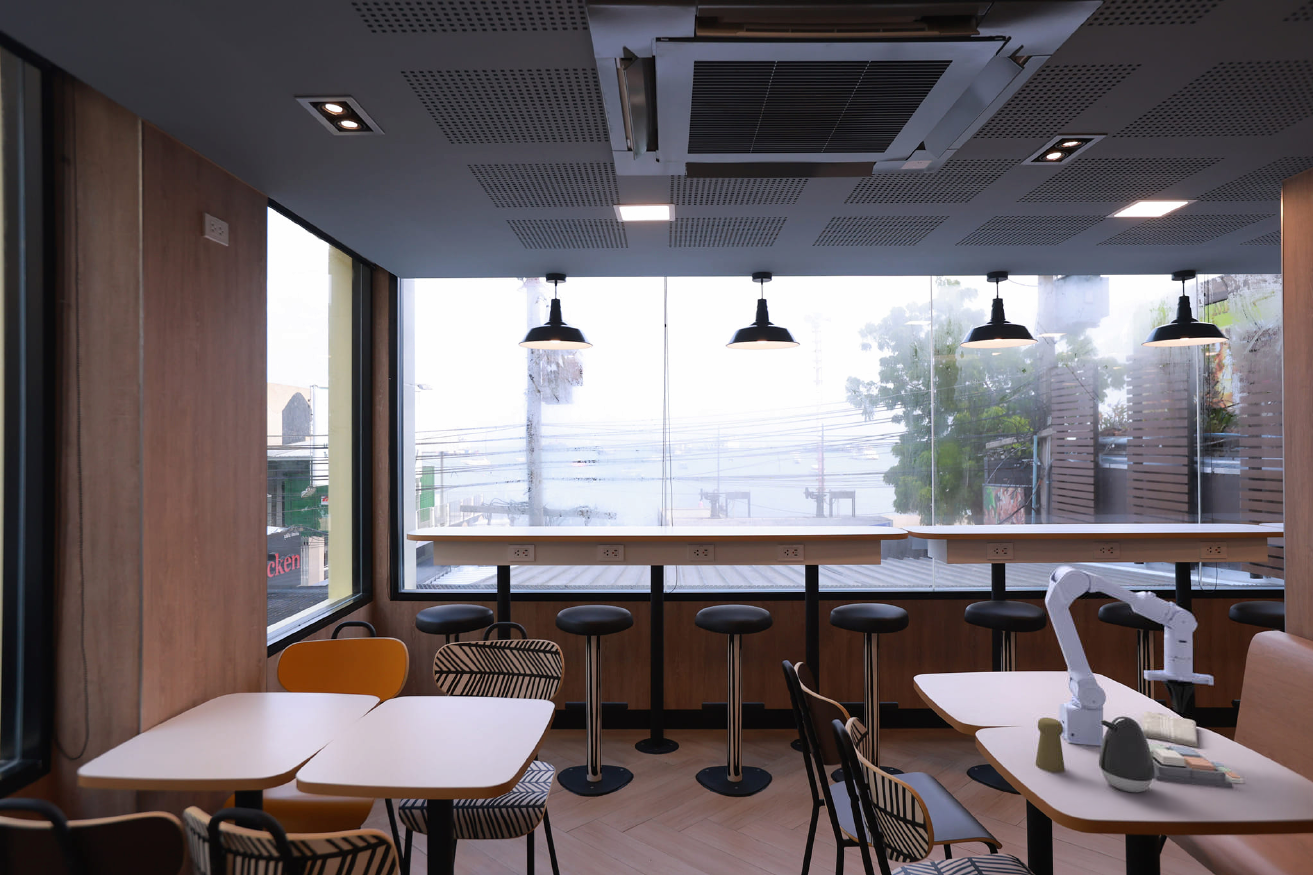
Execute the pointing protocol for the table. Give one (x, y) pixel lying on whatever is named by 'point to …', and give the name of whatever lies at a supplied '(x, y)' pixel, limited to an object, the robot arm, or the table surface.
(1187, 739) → the washcloth
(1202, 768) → the terracotta key
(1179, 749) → the slate key
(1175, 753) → the ivory key
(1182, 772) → the keypad base
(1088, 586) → the robot arm
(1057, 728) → the cork
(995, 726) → the table surface
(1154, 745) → the sage key
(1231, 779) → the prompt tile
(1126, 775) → the pump dispenser
